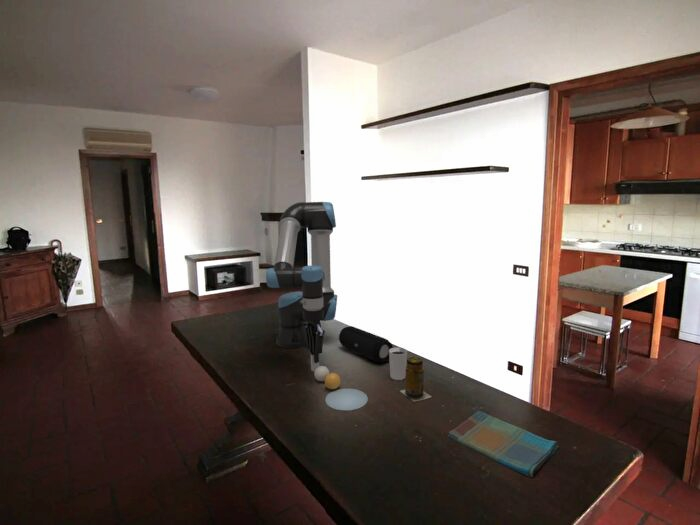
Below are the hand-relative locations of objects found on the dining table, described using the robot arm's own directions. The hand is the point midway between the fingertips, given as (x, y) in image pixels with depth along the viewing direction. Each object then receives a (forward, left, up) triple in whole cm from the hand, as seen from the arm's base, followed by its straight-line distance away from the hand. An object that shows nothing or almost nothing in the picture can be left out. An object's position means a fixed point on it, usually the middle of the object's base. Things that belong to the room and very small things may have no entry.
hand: (315, 369), depth 146 cm
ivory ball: (+2, +4, 0) cm, 4 cm away
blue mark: (+10, +18, -3) cm, 21 cm away
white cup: (-13, +28, -3) cm, 31 cm away
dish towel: (+12, +67, -4) cm, 68 cm away
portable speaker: (-27, +8, -3) cm, 28 cm away
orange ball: (+5, +11, 0) cm, 12 cm away
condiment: (-3, +38, -3) cm, 38 cm away
